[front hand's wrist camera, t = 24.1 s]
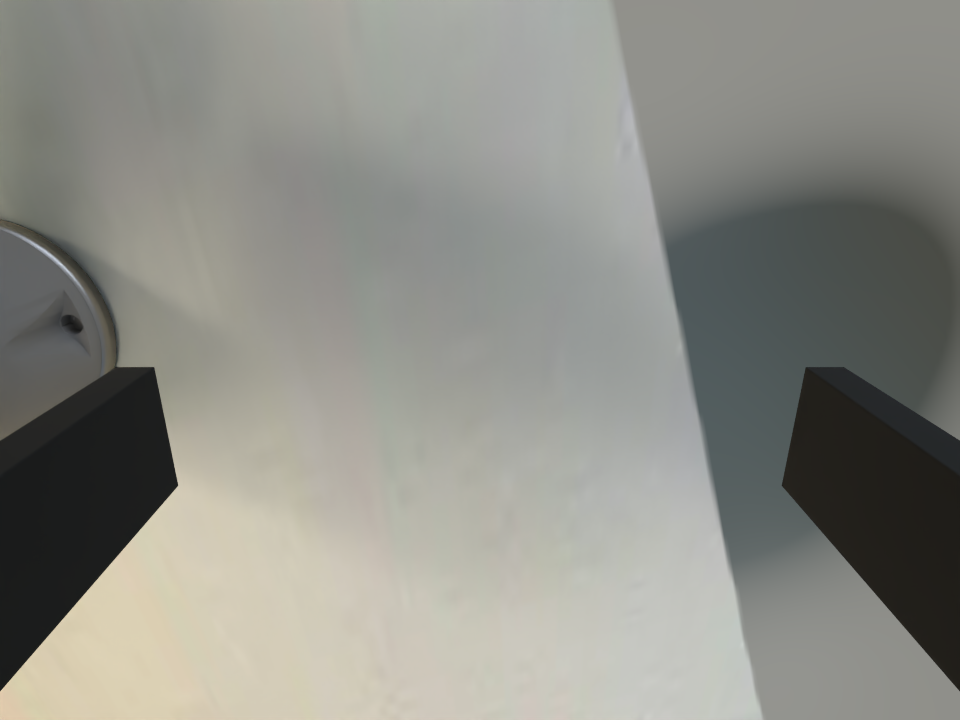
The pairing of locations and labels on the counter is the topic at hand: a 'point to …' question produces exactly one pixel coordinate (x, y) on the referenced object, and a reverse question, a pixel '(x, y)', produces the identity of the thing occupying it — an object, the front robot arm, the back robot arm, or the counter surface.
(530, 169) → the counter surface
